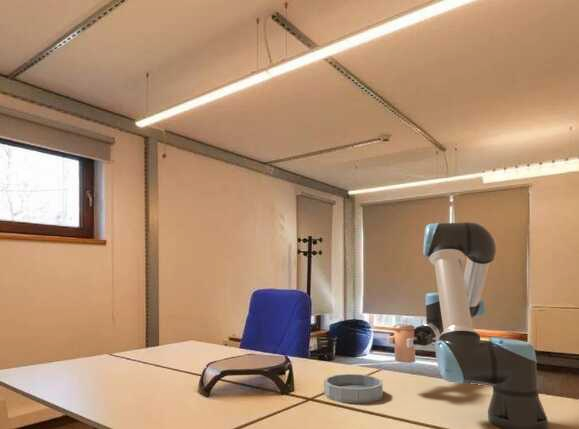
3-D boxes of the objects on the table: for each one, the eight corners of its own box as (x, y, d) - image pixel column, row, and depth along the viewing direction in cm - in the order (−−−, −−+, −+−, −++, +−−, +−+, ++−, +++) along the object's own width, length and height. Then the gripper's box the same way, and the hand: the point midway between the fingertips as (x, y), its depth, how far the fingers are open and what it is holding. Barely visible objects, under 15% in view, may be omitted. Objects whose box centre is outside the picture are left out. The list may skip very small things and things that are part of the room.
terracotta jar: (416, 363, 148) (415, 327, 150) (394, 362, 150) (392, 326, 152) (415, 358, 156) (414, 324, 157) (394, 358, 158) (393, 323, 159)
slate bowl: (381, 405, 137) (381, 390, 138) (320, 401, 142) (320, 386, 143) (383, 388, 156) (383, 375, 157) (329, 385, 161) (329, 372, 162)
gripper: (451, 347, 160) (425, 356, 143) (403, 341, 173) (373, 349, 156) (450, 327, 161) (424, 333, 144) (402, 322, 174) (372, 328, 157)
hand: (397, 342), depth 150 cm, fingers closed on terracotta jar, 7 cm apart
